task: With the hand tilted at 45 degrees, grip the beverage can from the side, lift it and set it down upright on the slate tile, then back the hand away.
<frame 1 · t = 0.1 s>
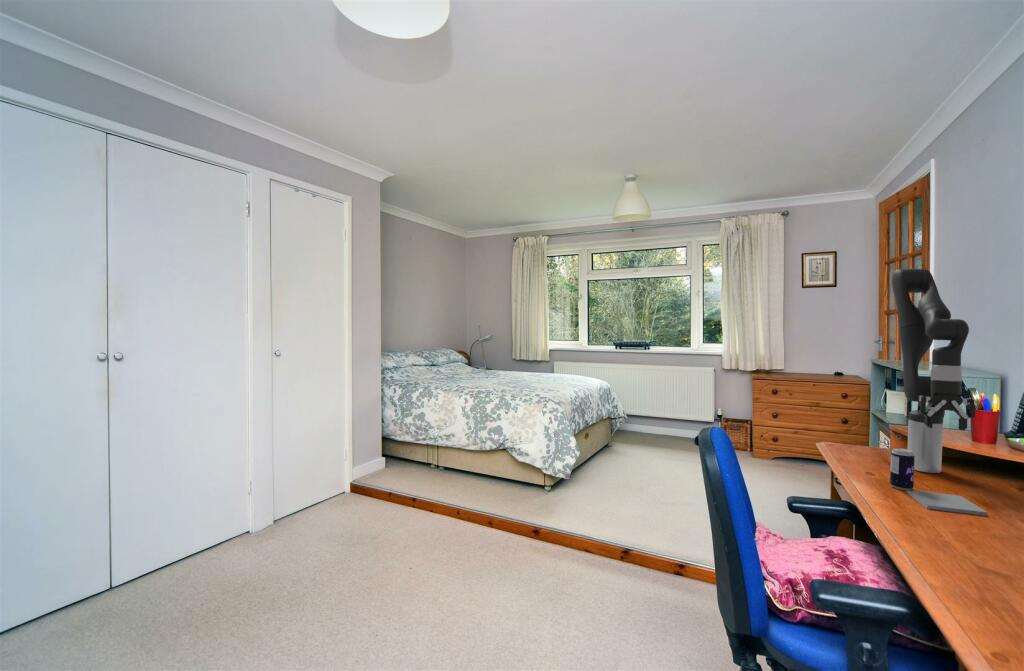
hand: (945, 428, 154), 17 cm above the table, tool pointing down, fingers open, 8 cm apart
slate tile: (944, 503, 135), on the table
beverage can: (901, 488, 148), on the table
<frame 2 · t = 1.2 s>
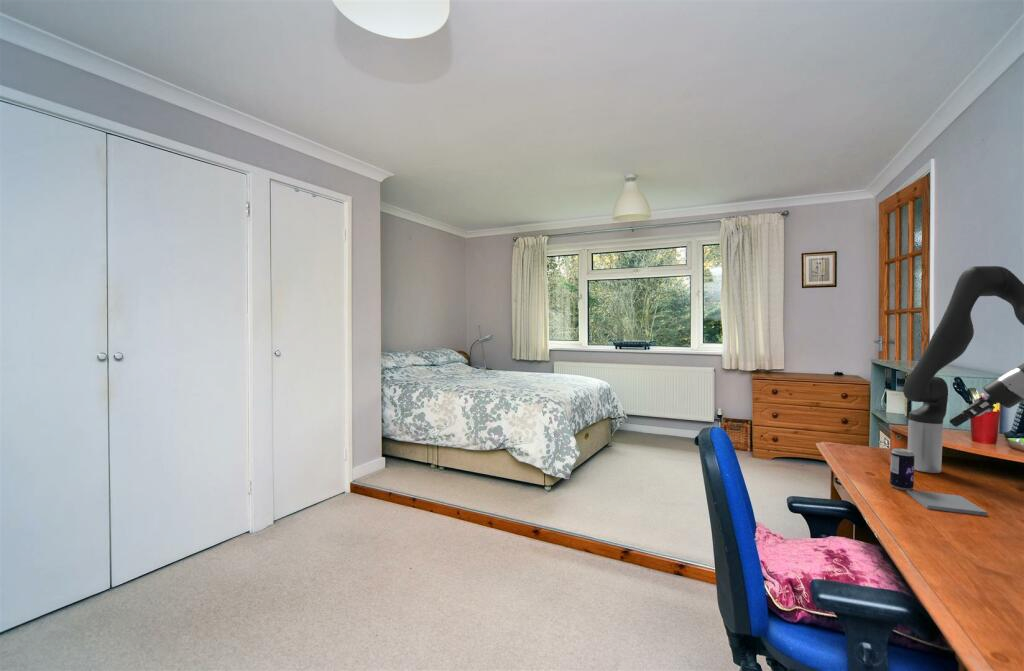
hand: (954, 422, 138), 23 cm above the table, tool tilted 45°, fingers open, 8 cm apart
nothing on the table moved.
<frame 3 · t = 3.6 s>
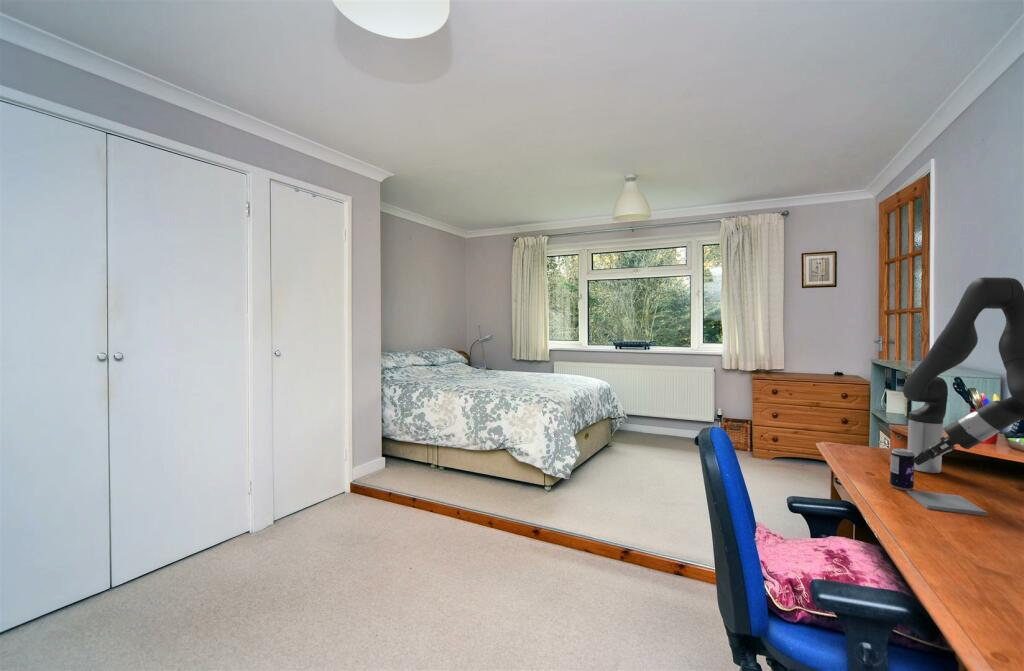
hand: (918, 459, 144), 10 cm above the table, tool tilted 45°, fingers open, 8 cm apart
nothing on the table moved.
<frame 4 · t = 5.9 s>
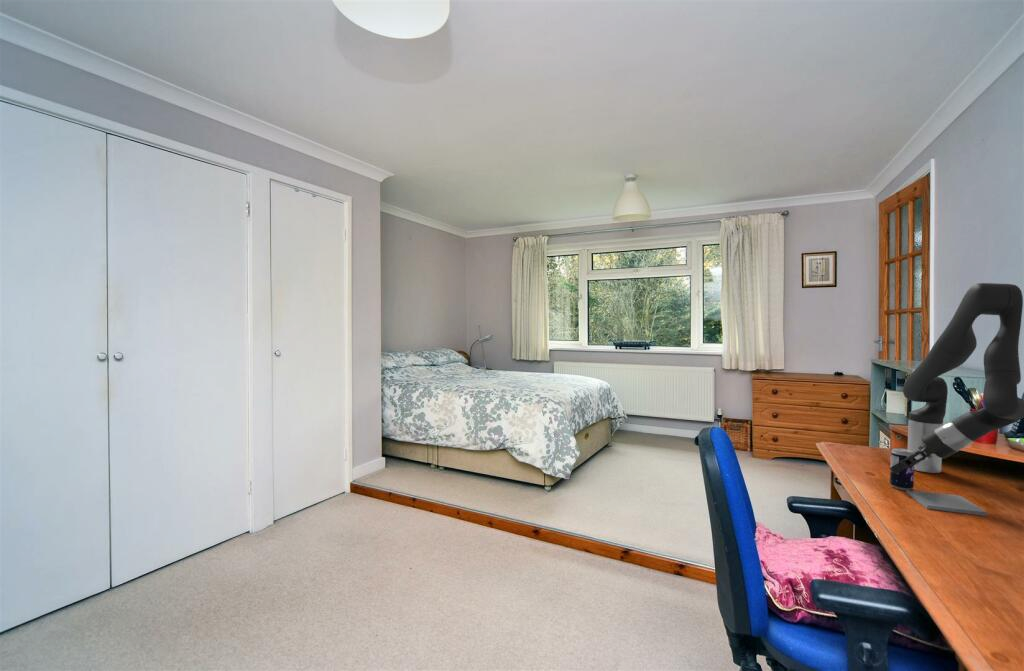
hand: (895, 469, 149), 5 cm above the table, tool tilted 45°, fingers closed on beverage can, 5 cm apart
beverage can: (901, 488, 148), on the table, touching gripper
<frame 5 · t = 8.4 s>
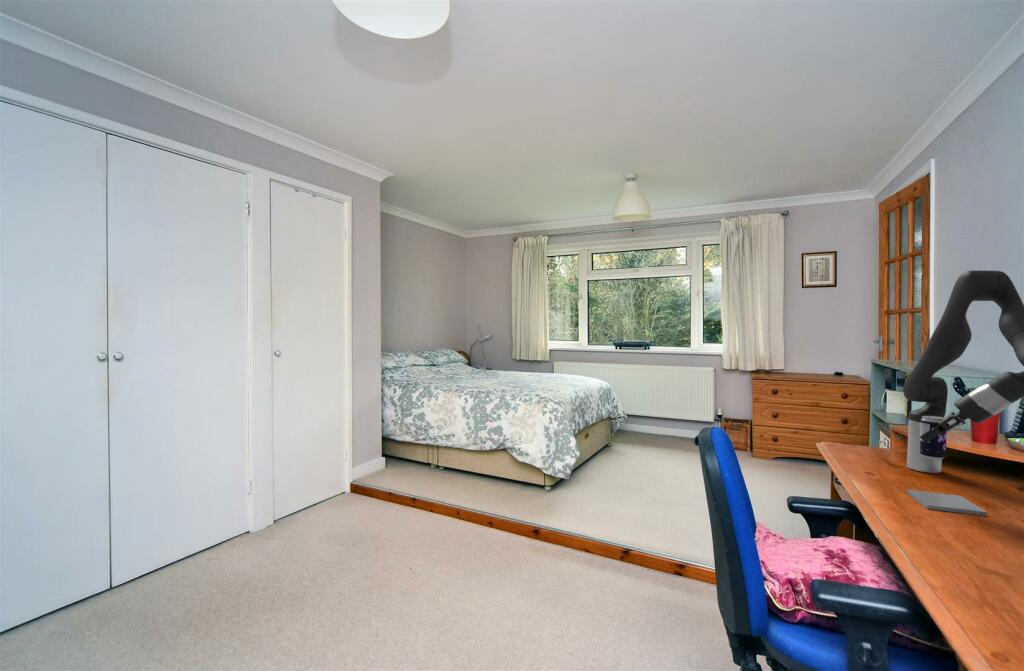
hand: (925, 438, 139), 18 cm above the table, tool tilted 45°, fingers closed on beverage can, 5 cm apart
beverage can: (932, 458, 138), point 12 cm above the table, touching gripper
when the fingers open (8 cm above the table, at t = 11.3 s): beverage can drops 1 cm, resting on slate tile.
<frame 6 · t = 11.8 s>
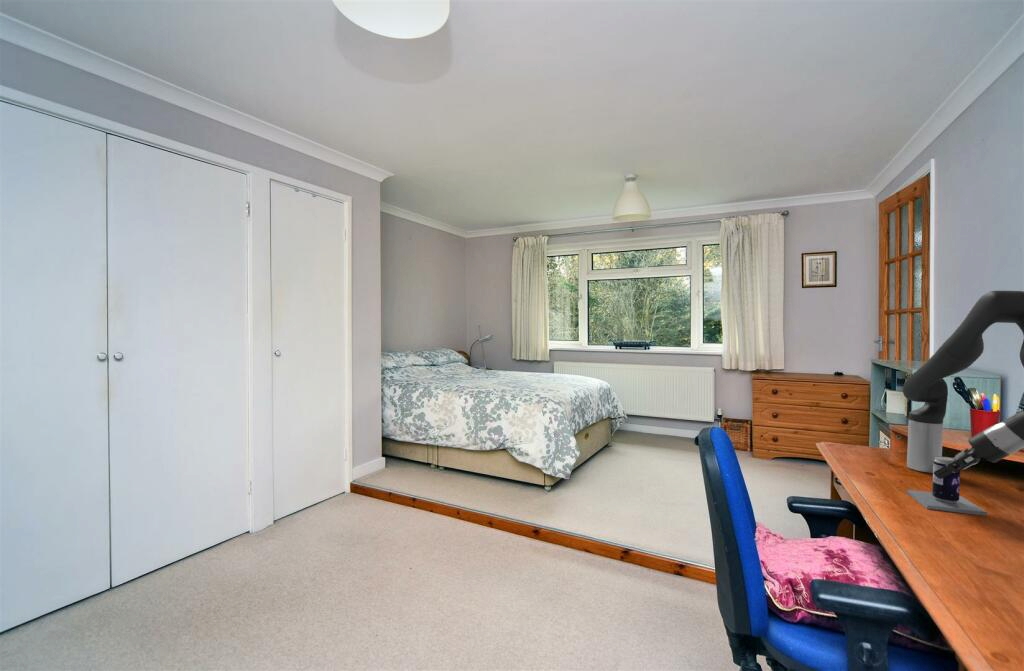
hand: (939, 473, 136), 9 cm above the table, tool tilted 45°, fingers open, 8 cm apart
beverage can: (945, 500, 135), point 1 cm above the table, touching slate tile
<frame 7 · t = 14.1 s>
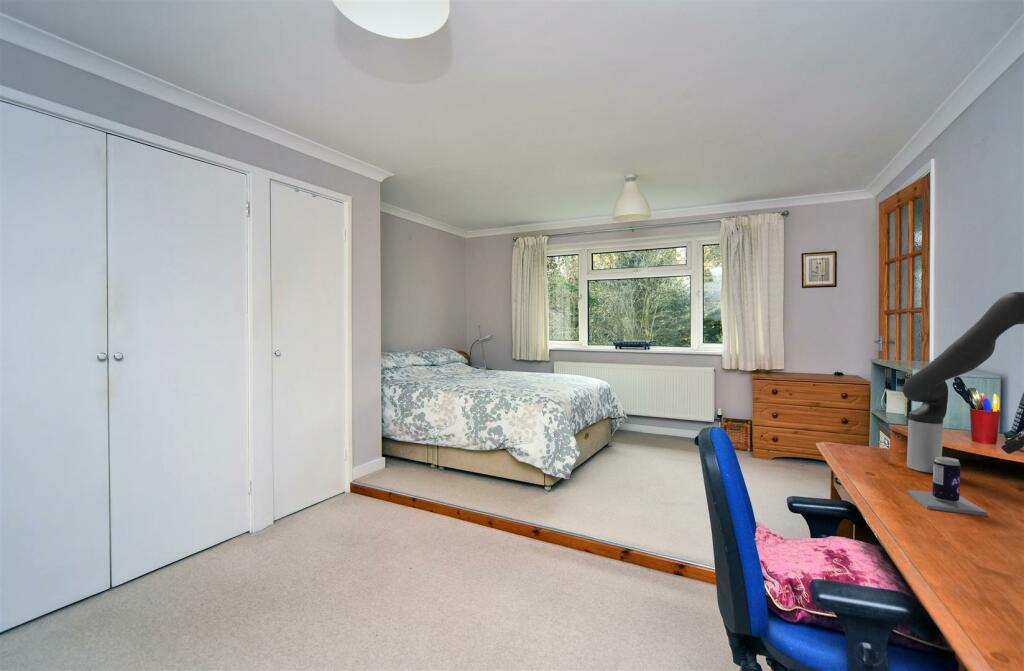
hand: (1006, 448, 125), 19 cm above the table, tool tilted 45°, fingers open, 8 cm apart
nothing on the table moved.
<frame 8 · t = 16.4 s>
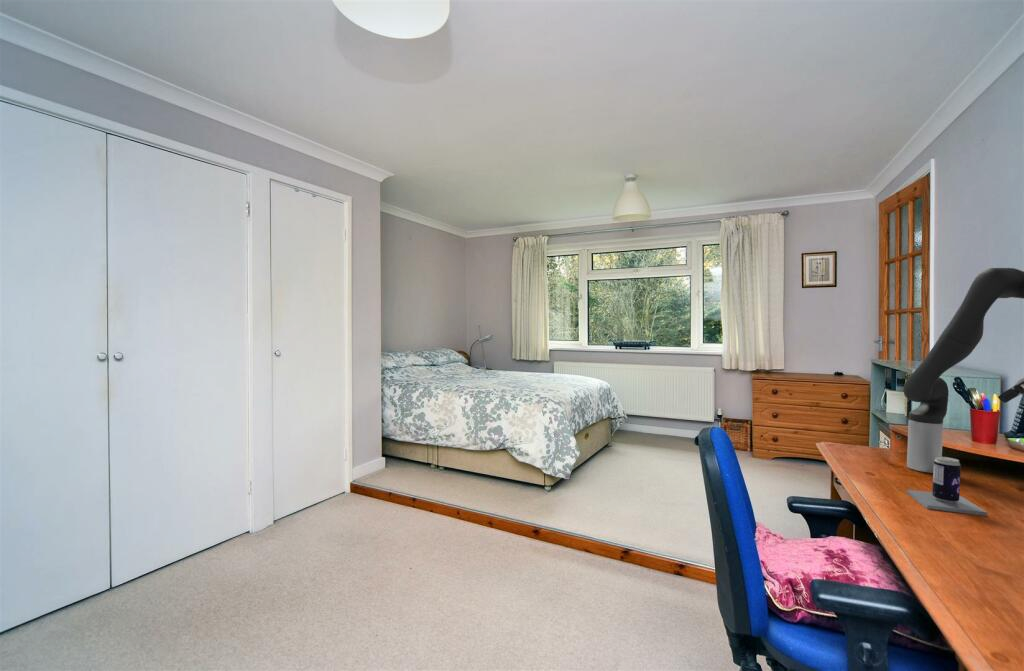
hand: (1002, 398, 133), 31 cm above the table, tool tilted 45°, fingers open, 8 cm apart
nothing on the table moved.
at the end: beverage can inside the target area on the slate tile (0.3 cm from its centre), point 0.8 cm above the slate tile's base; beverage can tilted 0°; the gripper is holding nothing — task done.
